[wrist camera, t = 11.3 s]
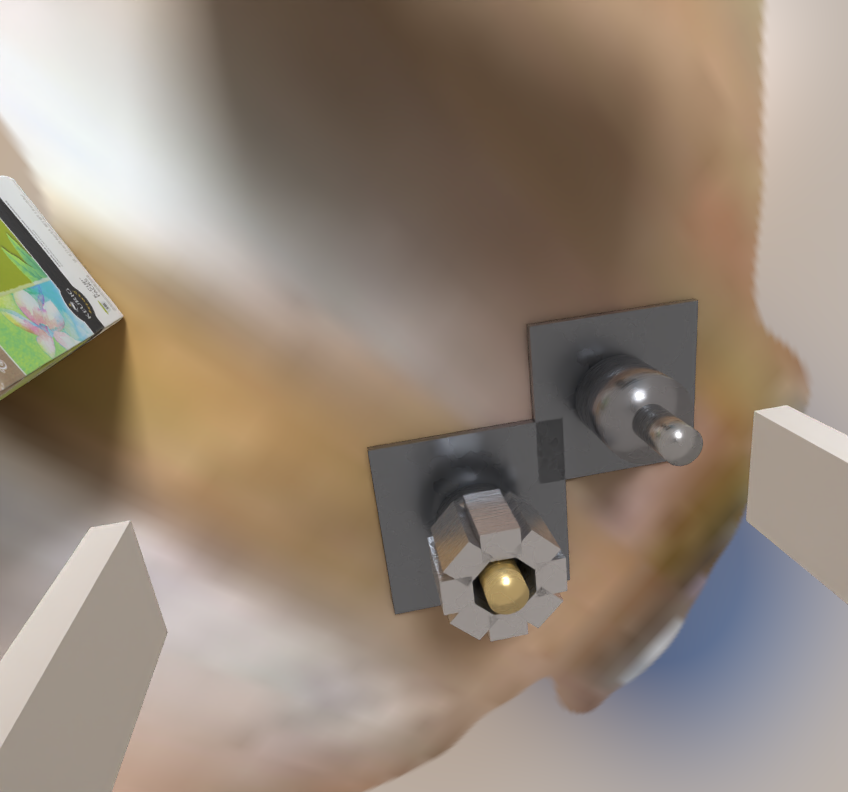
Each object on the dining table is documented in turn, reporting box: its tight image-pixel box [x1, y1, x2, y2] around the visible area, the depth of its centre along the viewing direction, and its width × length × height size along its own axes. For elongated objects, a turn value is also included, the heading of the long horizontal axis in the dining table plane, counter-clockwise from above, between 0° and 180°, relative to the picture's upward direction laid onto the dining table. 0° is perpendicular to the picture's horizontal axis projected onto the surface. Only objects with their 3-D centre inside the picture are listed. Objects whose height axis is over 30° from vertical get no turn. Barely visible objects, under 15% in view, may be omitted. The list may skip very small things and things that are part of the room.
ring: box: [427, 489, 567, 642], centre depth 41 cm, size 8×8×5 cm
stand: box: [527, 299, 703, 484], centre depth 40 cm, size 12×12×10 cm
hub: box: [367, 418, 570, 614], centre depth 42 cm, size 14×14×10 cm
